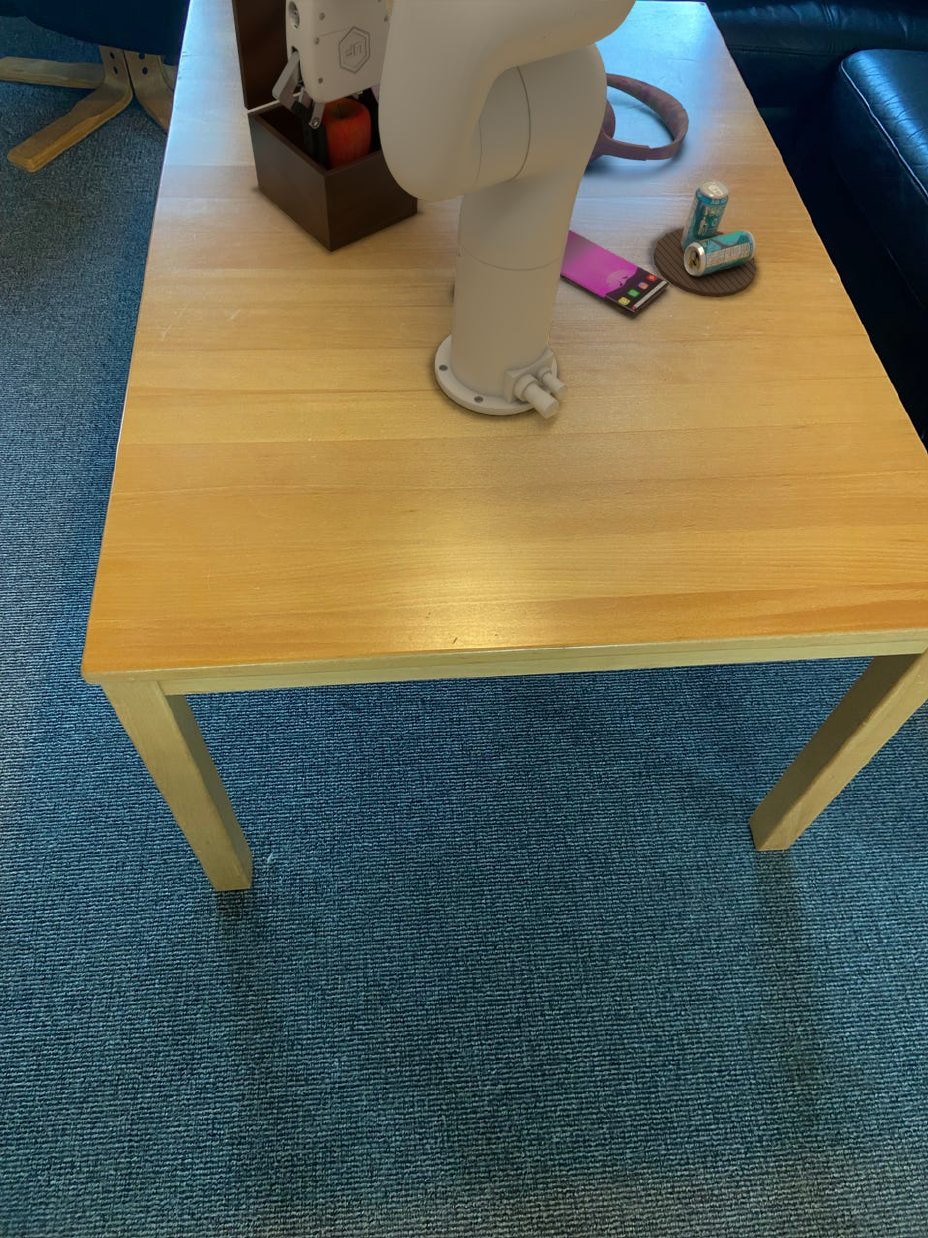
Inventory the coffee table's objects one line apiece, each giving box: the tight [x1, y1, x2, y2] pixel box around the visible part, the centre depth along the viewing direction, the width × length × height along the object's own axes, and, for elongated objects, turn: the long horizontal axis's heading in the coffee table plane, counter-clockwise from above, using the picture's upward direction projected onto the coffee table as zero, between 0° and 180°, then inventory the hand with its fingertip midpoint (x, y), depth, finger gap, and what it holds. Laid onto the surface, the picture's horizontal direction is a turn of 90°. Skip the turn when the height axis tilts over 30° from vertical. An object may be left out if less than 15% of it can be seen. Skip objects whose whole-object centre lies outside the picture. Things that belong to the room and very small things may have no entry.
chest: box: [246, 93, 418, 253], centre depth 95 cm, size 15×13×9 cm
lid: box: [231, 0, 301, 111], centre depth 87 cm, size 15×13×6 cm
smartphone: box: [560, 229, 670, 315], centre depth 94 cm, size 7×15×1 cm, turn 49°
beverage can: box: [653, 178, 757, 297], centre depth 94 cm, size 12×12×8 cm
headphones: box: [587, 72, 690, 165], centre depth 107 cm, size 18×8×20 cm
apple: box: [321, 98, 371, 171], centre depth 91 cm, size 6×6×8 cm
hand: (344, 145), depth 92 cm, fingers closed on apple, 6 cm apart
